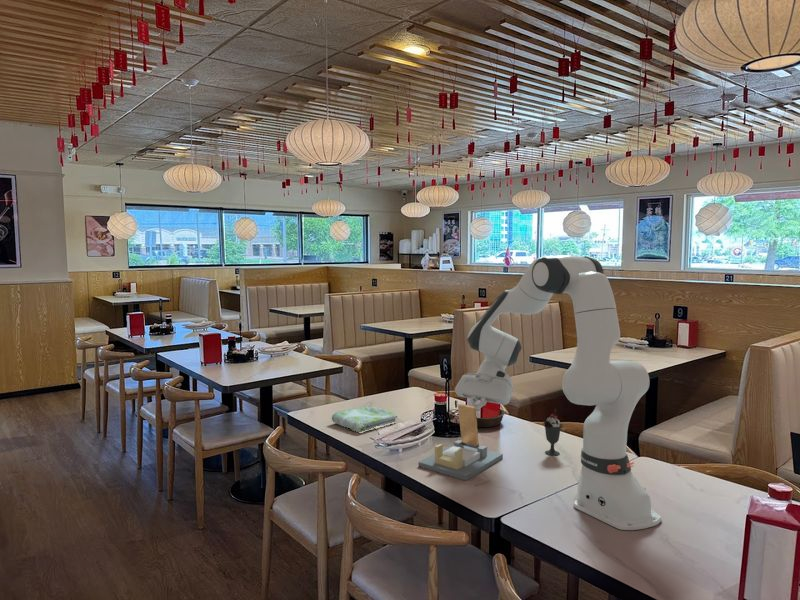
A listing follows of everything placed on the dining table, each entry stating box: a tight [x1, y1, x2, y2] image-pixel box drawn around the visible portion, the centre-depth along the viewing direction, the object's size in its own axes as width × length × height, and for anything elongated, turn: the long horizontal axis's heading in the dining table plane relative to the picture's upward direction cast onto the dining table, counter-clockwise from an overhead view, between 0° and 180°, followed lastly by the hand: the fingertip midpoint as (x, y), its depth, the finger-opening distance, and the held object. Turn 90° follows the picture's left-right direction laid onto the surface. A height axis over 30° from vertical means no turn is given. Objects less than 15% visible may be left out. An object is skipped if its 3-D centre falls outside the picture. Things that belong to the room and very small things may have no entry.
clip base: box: [417, 439, 504, 481], centre depth 178 cm, size 23×18×7 cm
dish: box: [476, 408, 506, 428], centre depth 220 cm, size 18×22×5 cm
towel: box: [331, 405, 398, 433], centre depth 220 cm, size 18×21×5 cm
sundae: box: [542, 408, 564, 457], centre depth 185 cm, size 7×7×15 cm
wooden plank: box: [457, 403, 480, 449], centre depth 180 cm, size 2×6×15 cm, turn 51°
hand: (474, 409), depth 183 cm, fingers closed
